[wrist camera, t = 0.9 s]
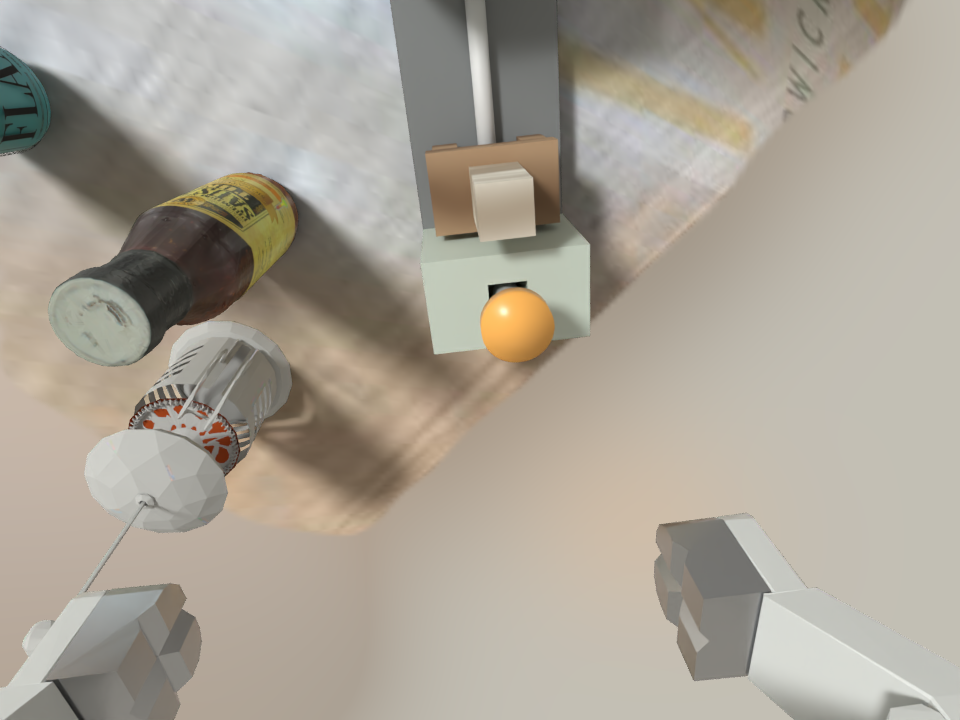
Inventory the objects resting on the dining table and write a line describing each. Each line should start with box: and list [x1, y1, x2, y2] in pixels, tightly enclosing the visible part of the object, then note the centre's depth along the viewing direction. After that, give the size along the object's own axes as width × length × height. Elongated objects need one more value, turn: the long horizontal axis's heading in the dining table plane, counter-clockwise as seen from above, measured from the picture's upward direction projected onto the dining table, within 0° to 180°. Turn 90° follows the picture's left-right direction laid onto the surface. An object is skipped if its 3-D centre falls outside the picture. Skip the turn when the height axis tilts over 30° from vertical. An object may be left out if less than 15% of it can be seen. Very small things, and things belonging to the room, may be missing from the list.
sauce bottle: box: [48, 172, 298, 366], centre depth 31 cm, size 7×6×20 cm
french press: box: [22, 321, 292, 657], centre depth 34 cm, size 10×12×25 cm
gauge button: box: [480, 282, 555, 362], centre depth 32 cm, size 4×4×6 cm
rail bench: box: [390, 0, 590, 355], centre depth 33 cm, size 26×10×10 cm, turn 6°
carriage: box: [425, 134, 560, 242], centre depth 33 cm, size 5×8×10 cm, turn 96°
